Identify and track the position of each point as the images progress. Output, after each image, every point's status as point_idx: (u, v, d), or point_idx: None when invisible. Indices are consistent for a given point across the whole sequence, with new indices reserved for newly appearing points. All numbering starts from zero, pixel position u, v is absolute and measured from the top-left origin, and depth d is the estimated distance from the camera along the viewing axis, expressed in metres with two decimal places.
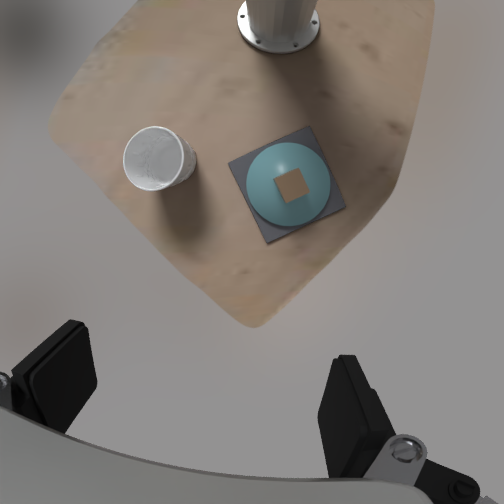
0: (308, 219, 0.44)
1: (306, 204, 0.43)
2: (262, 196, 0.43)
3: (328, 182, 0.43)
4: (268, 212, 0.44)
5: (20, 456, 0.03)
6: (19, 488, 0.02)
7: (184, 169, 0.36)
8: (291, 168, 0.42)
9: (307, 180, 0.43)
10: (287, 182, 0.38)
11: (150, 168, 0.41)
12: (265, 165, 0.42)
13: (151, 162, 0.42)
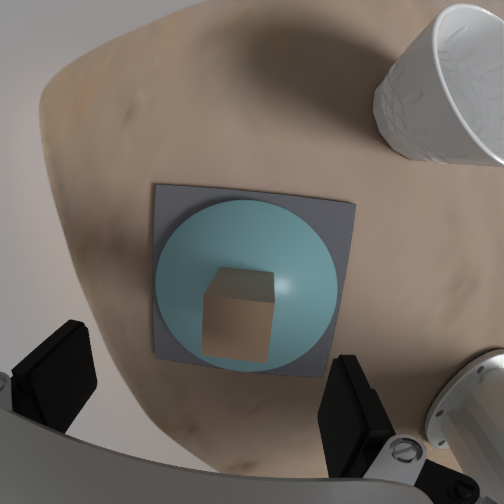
0: (158, 290, 0.20)
1: (188, 303, 0.20)
2: (250, 231, 0.19)
3: (209, 360, 0.21)
4: (211, 224, 0.19)
5: (20, 456, 0.03)
6: (19, 488, 0.02)
7: (435, 119, 0.10)
8: None
9: None
10: (249, 325, 0.15)
11: None
12: (307, 273, 0.19)
13: (444, 77, 0.15)
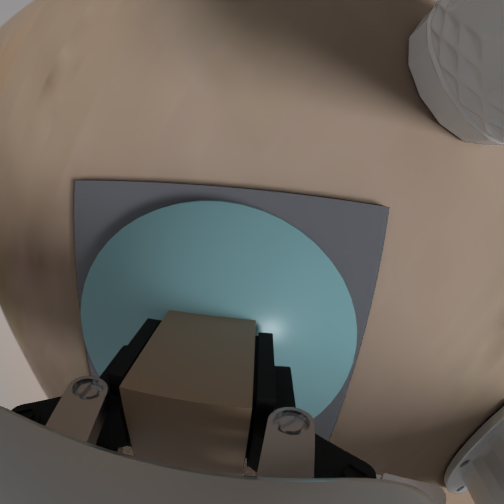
0: (87, 338, 0.12)
1: None
2: (215, 254, 0.11)
3: None
4: (151, 243, 0.11)
5: (20, 456, 0.03)
6: (19, 488, 0.02)
7: None
8: None
9: None
10: (206, 437, 0.07)
11: None
12: (311, 321, 0.12)
13: None
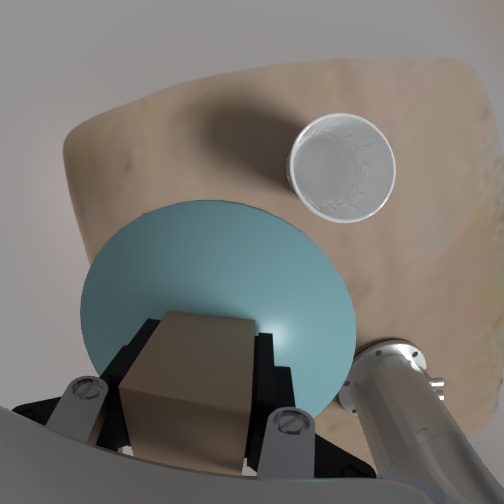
0: (87, 338, 0.12)
1: None
2: (214, 254, 0.11)
3: None
4: (150, 243, 0.11)
5: (20, 456, 0.03)
6: (19, 488, 0.02)
7: (296, 194, 0.23)
8: None
9: None
10: (205, 437, 0.07)
11: (333, 138, 0.26)
12: (310, 321, 0.12)
13: (339, 144, 0.27)
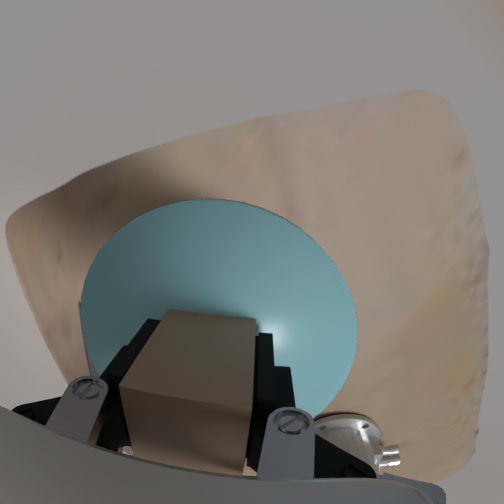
0: (87, 337, 0.12)
1: None
2: (215, 252, 0.11)
3: None
4: (151, 242, 0.11)
5: (20, 456, 0.03)
6: (19, 488, 0.02)
7: None
8: None
9: None
10: (206, 436, 0.07)
11: None
12: (311, 320, 0.12)
13: None
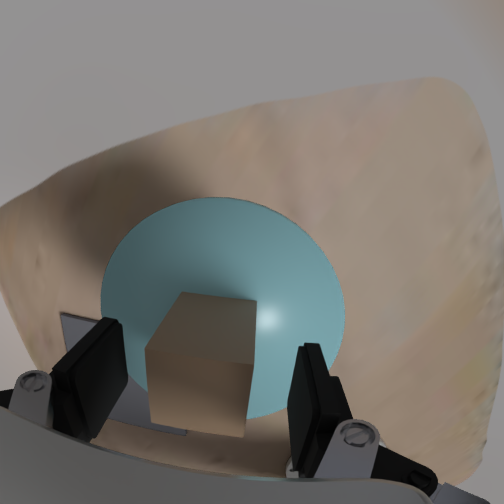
0: None
1: (142, 336, 0.14)
2: (223, 243, 0.13)
3: None
4: (168, 233, 0.13)
5: (20, 456, 0.03)
6: (19, 488, 0.02)
7: None
8: None
9: None
10: (215, 393, 0.09)
11: None
12: (304, 302, 0.14)
13: None
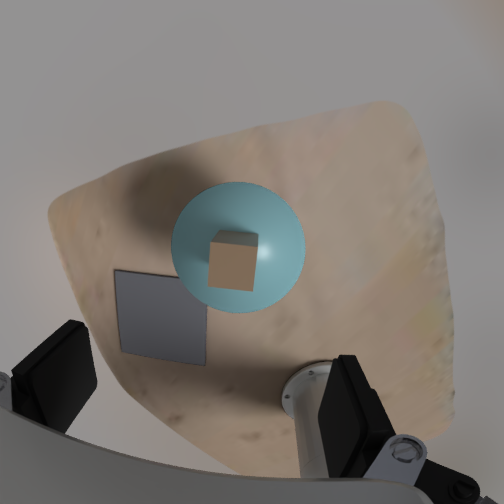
0: (173, 248, 0.27)
1: (195, 257, 0.28)
2: (241, 204, 0.26)
3: (210, 303, 0.29)
4: (213, 199, 0.26)
5: (20, 456, 0.03)
6: (19, 488, 0.02)
7: None
8: (257, 267, 0.28)
9: None
10: (241, 263, 0.22)
11: None
12: (283, 235, 0.27)
13: None
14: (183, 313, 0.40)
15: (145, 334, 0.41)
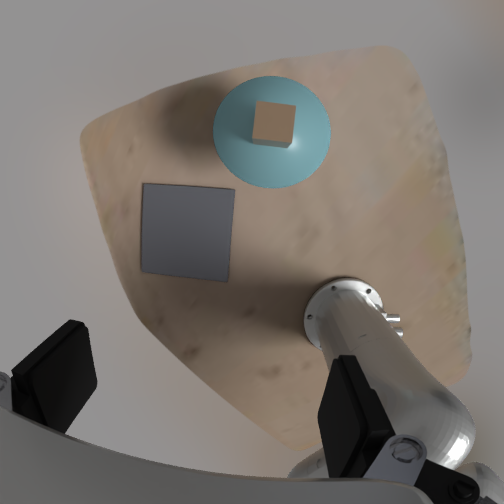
0: (215, 128, 0.30)
1: (234, 136, 0.30)
2: (276, 92, 0.28)
3: (245, 178, 0.31)
4: (253, 88, 0.28)
5: (20, 456, 0.03)
6: (19, 488, 0.02)
7: None
8: (289, 144, 0.30)
9: (263, 154, 0.30)
10: (281, 118, 0.24)
11: None
12: (311, 118, 0.29)
13: None
14: (209, 223, 0.42)
15: (168, 249, 0.43)
